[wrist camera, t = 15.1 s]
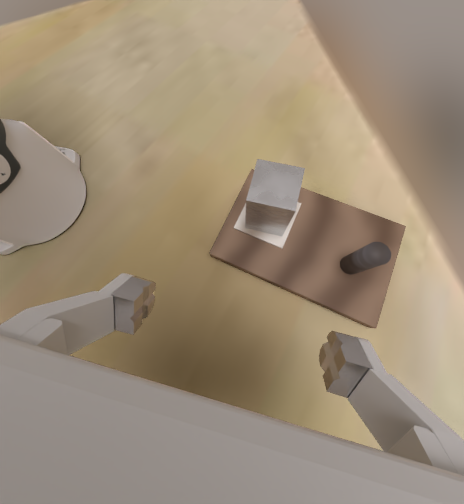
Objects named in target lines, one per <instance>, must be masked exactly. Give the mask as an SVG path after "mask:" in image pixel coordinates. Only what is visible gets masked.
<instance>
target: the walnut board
mask: <svg viewBox="0 0 464 504" xmlns="http://www.w3.org/2000/svg"><path fill="white" fill-rule="evenodd" d="M253 174H254V170H253V169H252V170H251V172H250V174H249V176H248V178H247V179H246V181H245V183H244V185H243V187H242V189H241V191H240V193H239V195H238V197H237V199H236V201H235V203H234V205H233V207H232V209H231V211H230V213H229V215H228V217H227V219H226V221H225V223H224V225H223V227H222V229H221V231H220V233H219V235H218V237H217V239H216V241H215V243H214V245H213V247H212V249H211V251H210V252H209V254H210V256H212V257H214V258H216V259H218V260H221V261H223V262H225V263H227V264H229V265H232V266H234V267H236V268H238V269H241V270H243V271H245V272H247V273H249V274H252V275H254V276H256V277H258V278H261V279H263V280H265V281H267V282H269V283H272V284H274V285H276V286H278V287H281V288H283V289H285V290H287V291H289V292H292V293H294V294H296V295H298V296H300V297H303V298H305V299H307V300H309V301H312V302H314V303H316V304H318V305H320V306H323V307H325V308H327V309H329V310H332V311H334V312H336V313H338V314H340V315H343V316H345V317H347V318H349V319H352V320H354V321H356V322H358V323H360V324H363V325H365V326H367V327H370V328H376V327H377V324H378V320H379V317H380V313H381V310H382V306H383V303H384V300H385V296H386V293H387V289H388V286H389V282H390V279H391V275H392V272H393V269H394V265H395V262H396V258H397V255H398V251H399V248H400V244H401V241H402V238H403V234H404V231H405V227H406V226H404V225H401V224H398V223H396V222H393V221H390V220H388V219H385V218H382V217H380V216H377V215H374V214H371V213H369V212H366V211H363V210H361V209H358V208H355V207H353V206H350V205H347V204H344V203H342V202H339V201H336V200H334V199H331V198H328V197H326V196H323V195H320V194H317V193H315V192H312V191H309V190H307V189H304V188H300V193H299V198H298V203H297V207H296V212H295V213H294V215H293V217H292V219H291V221H290V223H289V224H288V226H287V228H286V230H285V232H284V234H283V236H278V235H273V234H269V233H265V232H261V231H256V230H252V229H248V228H245V217H246V199H247V195H248V192H249V188H250V184H251V181H252V177H253Z"/></svg>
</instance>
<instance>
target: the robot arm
mask: <svg viewBox="0 0 464 504" xmlns="http://www.w3.org/2000/svg"><path fill="white" fill-rule="evenodd" d="M85 197H86V185H85V181H84V178H83V176H82V174H81V172H80V156H79V154H78V153H76V152H75V151H74V150H72V149H69V148H63V147H58V146H53V145H52V144H51V143H50V142H48V141H47V140H46V139H45V138H43V137H42V136H41V135H40V134H38V133H37V132H36V131H35V130H33V129H32V128H31V127H30V126H28V125H27V124H25V123H24V122H22V121H15V120H11V119H0V254H2V255H7V254H10V253H12V252H14V251H16V250H18V249H19V248H21V247H23V246H27V245H33V244H38V243H42V242H45V241H48V240H50V239H52V238H54V237H56V236H58V235H59V234H61V233H62V232H64V231H65V230H66V229H67V228H68V227H69V226H70V225H71V224H72V223H73V222H74V221H75V220H76V218H77V217H78V215H79V214H80V212H81V210H82V208H83V205H84V202H85ZM155 289H156V283H155V282H154V281H150V280H147V279H144V278H140V277H137V276H133V275H130V274H126V273H122V274H120V275H119V276H118V277H116V278H115V279H114V280H112V281H111V282H110V283H108V284H107V285H106V286H105V287H103V288H102V289H101V290H99V291H98V292H97V291H92V292H88V293H84V294H81V295H77V296H73V297H69V298H65V299H62V300H58V301H54V302H50V303H47V304H43V305H39V306H35V307H31V308H28V309H25V310H23V311H22V312H20V313H18V314H17V315H15V316H14V317H12V318H10V319H9V320H7V321H6V322H4V323H2V324H1V325H0V504H464V441H463V439H462V438H461V437H460V436H459V435H458V434H457V433H455V432H454V431H453V430H452V429H451V428H450V427H449V426H448V425H447V424H445V423H444V422H443V421H442V420H441V419H440V418H439V417H438V416H437V415H435V414H434V413H433V412H432V411H431V410H430V409H429V408H428V407H427V406H425V405H424V404H423V403H422V402H421V401H420V400H419V399H418V398H417V397H416V396H414V395H413V394H412V393H411V392H410V391H409V390H408V389H407V388H406V387H404V386H403V385H402V384H401V383H400V382H399V381H398V380H397V379H396V378H394V377H393V376H392V375H391V374H387V372H386V370H385V368H384V366H383V365H382V363H381V361H380V359H379V357H378V356H377V354H376V352H375V350H374V348H373V346H372V345H371V343H370V342H369V341H368V340H366V339H362V338H358V337H353V336H349V335H346V334H342V333H338V332H335V331H331V332H330V333H329V334H328V336H327V339H328V342H327V343H325V344H323V345H322V347H321V349H320V354H319V362H320V366H321V368H322V369H323V370H324V371H325V373H324V375H323V378H324V382H325V386H326V390H327V392H330V393H333V394H336V395H340V396H343V397H346V398H348V401H349V402H350V403H351V405H352V406H353V408H354V409H355V411H356V412H357V413H358V415H359V416H360V418H361V419H362V421H363V422H364V423H365V425H366V426H367V428H368V429H369V430H370V432H371V433H372V435H373V436H374V438H375V439H376V440H377V442H378V443H379V445H380V446H381V448H382V449H383V450H384V451H381V450H378V449H375V448H371V447H368V446H365V445H361V444H358V443H355V442H352V441H348V440H345V439H342V438H339V437H335V436H332V435H329V434H325V433H322V432H319V431H316V430H312V429H309V428H306V427H302V426H299V425H296V424H292V423H289V422H286V421H283V420H279V419H276V418H273V417H269V416H266V415H263V414H260V413H256V412H253V411H250V410H246V409H243V408H240V407H237V406H233V405H230V404H227V403H224V402H220V401H217V400H214V399H210V398H207V397H204V396H201V395H197V394H194V393H191V392H187V391H184V390H181V389H178V388H174V387H171V386H168V385H165V384H161V383H158V382H155V381H151V380H148V379H145V378H142V377H138V376H135V375H132V374H128V373H125V372H122V371H119V370H115V369H112V368H109V367H105V366H102V365H99V364H96V363H92V362H89V361H86V360H82V359H79V358H76V357H73V356H69V355H70V354H72V353H74V352H76V351H77V350H79V349H81V348H83V347H85V346H87V345H89V344H91V343H93V342H94V341H96V340H98V339H100V338H102V337H104V336H106V335H108V334H110V333H111V332H113V331H114V330H117V331H121V332H125V333H129V334H133V335H134V334H135V332H136V331H137V330H138V328H139V327H140V326H141V325H142V319H143V318H146V317H148V315H149V314H150V313H151V311H152V308H153V306H154V302H155V296H154V295H153V292H154V291H155Z"/></svg>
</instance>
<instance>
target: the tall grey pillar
mask: <svg viewBox="0 0 464 504" xmlns="http://www.w3.org/2000/svg"><path fill="white" fill-rule="evenodd" d="M304 170H305V168H301V167H296V166H291V165H285V164H280V163H275V162H270V161H265V160H260V159H257V163H256V166H255V170H254V174H253V177H252V181H251V184H250V188H249V192H248V195H247V199H246V217H245V228H248V229H252V230H256V231H261V232H265V233H269V234H273V235H278V236H283V234H284V232H285V230H286V228H287V226H288V224H289V223H290V221H291V219H292V217H293V215H294V213H295V212H296V207H297V203H298V198H299V193H300V188H301V184H302V179H303V174H304Z"/></svg>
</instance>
